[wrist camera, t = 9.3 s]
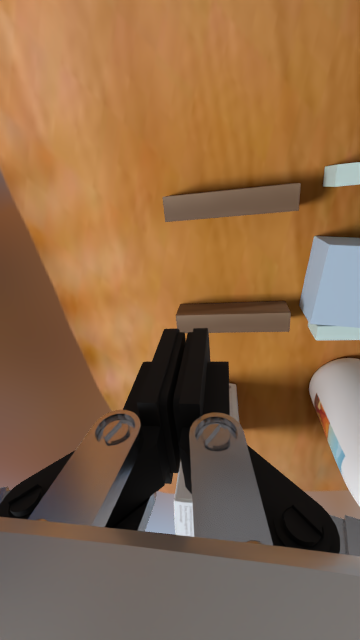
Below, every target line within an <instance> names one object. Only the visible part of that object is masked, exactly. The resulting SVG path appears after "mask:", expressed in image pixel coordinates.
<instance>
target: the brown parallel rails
mask: <svg viewBox="0 0 360 640" xmlns="http://www.w3.org/2000/svg"><path fill="white" fill-rule="evenodd" d="M300 186H301V183H289V184H280V185H270V186H260V187H250V188H241V189H231V190H221V191H211V192H202V193H192V194H182V195H172V196H166V197H163V205H164V214H165V222H171V221H183V220H195V219H206V218H218V217H229V216H241V215H253V214H264V213H276V212H288V211H299V199H300ZM290 316H291V312H290V310H289V308H288V306H287V304H286V302H285V301H266V302H235V303H205V304H180V306H179V309H178V311H177V314H176V321H177V329H179V330H180V332H184V333H188V332H193V329H194V328H208V333H222V332H289V330H290Z"/></svg>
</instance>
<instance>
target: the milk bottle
mask: <svg viewBox="0 0 360 640" xmlns="http://www.w3.org/2000/svg"><path fill="white" fill-rule="evenodd" d="M309 393H310V396H311V399H312V402H313V405H314V407H315V410H316V412H317V415H318V418H319V420H320V423H321V425H322V428H323V430H324V433H325V435H326V438H327V440H328V443H329V445H330V448H331V450H332V453H333V455H334V458H335V460H336V463H337V465H338V467H339V470H340V472H341V474H342V476H343V479H344V481H345V483H346V485H347V487H348V489H349V491H350V492H351V494H352V496H353V497H354V499H355V500H356V502H357V503H358V505H359V506H360V359H357V358H341V359H336V360H333V361H331V362H328V363H326V364H325V365H323V366H322V367H320V368H319V369H318V370H317V371H316V372H315V373H314V375H313V377H312V378H311V382H310V385H309Z"/></svg>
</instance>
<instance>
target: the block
mask: <svg viewBox="0 0 360 640" xmlns="http://www.w3.org/2000/svg"><path fill="white" fill-rule="evenodd" d="M299 306H300V308H301V310H302V311H303V313H304V315H305V316H306V318H307V320H308V321H309V323H310V324H317V325H330V326H342V327H355V328H360V238H352V237H327V236H314V240H313V245H312V249H311V254H310V258H309V263H308V267H307V272H306V276H305V281H304V286H303V290H302V295H301V299H300V304H299Z"/></svg>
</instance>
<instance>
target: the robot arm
mask: <svg viewBox="0 0 360 640" xmlns="http://www.w3.org/2000/svg"><path fill="white" fill-rule="evenodd" d="M180 461H181V465H182V471H183V475H184V481H185V487H186V488H187V490H188V491H189V492H190V493H191V494H192V503H193V523H194V537H191V536H182V535H172V534H163V533H153V532H145V529H146V526H147V523H148V521H149V518H150V515H151V512H152V509H153V506H154V504H155V500H156V492H157V491H158V490H159V489H160V488H162V487H163V486H164V485H165V483H168V484H171V483H172V477H173V473H178V472H179V468H180ZM0 640H360V520H359V519H356V518H353V517H349V516H346V515H345V517H344V519H341V518H338V517H335V516H331V515H329V514H328V513H327V512H326V511H325V510H324V508H323V507H322V506H321V505H319V504H318V503H317V502H316V501H314V500H313V499H312V498H311V497H310V496H308V495H307V494H306V493H305V492H304V491H302V490H301V489H300V488H299V487H298V486H296V485H295V484H294V483H293V482H292V481H290V480H289V479H288V478H287V477H285V476H284V475H283V474H282V473H281V472H279V471H278V470H277V469H276V468H275V467H273V466H272V465H271V464H270V463H268V462H267V461H266V460H265V459H264V458H262V457H261V456H260V455H259V454H258V453H256V452H255V451H254V450H253V449H251V448H250V447H249V446H248V445H247V443H246V439H245V435H244V431H243V429H242V427H241V425H240V423H239V422H238V421H237V420H236V419H235V418H233V417H231V416H230V401H229V364H228V362H210V349H209V333H208V328H194V329H193V332H188V335H187V339H186V340H185V333H184V332H180V330H179V329H164V331H163V334H162V337H161V339H160V342H159V345H158V347H157V350H156V353H155V355H154V358H153V360H152V362H143V364H142V366H141V368H140V370H139V373H138V375H137V377H136V380H135V382H134V384H133V387H132V389H131V392H130V394H129V396H128V399H127V401H126V403H125V406H124V408H123V410H116V411H112V412H110V413H107V414H105V415H104V416H102V417H101V418H99V419H98V420H97V421H96V423H95V424H94V425H93V426H92V427H91V429H90V430H89V432H88V433H87V435H86V436H85V437H84V439H83V440H82V442H81V443H80V445H79V446H78V448H77V449H76V450H75V451H73V452H71V453H70V454H68V455H66V456H65V457H63V458H61V459H60V460H58V461H56V462H55V463H53V464H51V465H49V466H48V467H46V468H45V469H43V470H41V471H39V472H38V473H36V474H34V475H33V476H31V477H29V478H28V479H26V480H24V481H23V482H21V483H20V484H18V485H17V486H16V487H14V488H13V489H12V490H9V488H8V487H3V488H0Z"/></svg>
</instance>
